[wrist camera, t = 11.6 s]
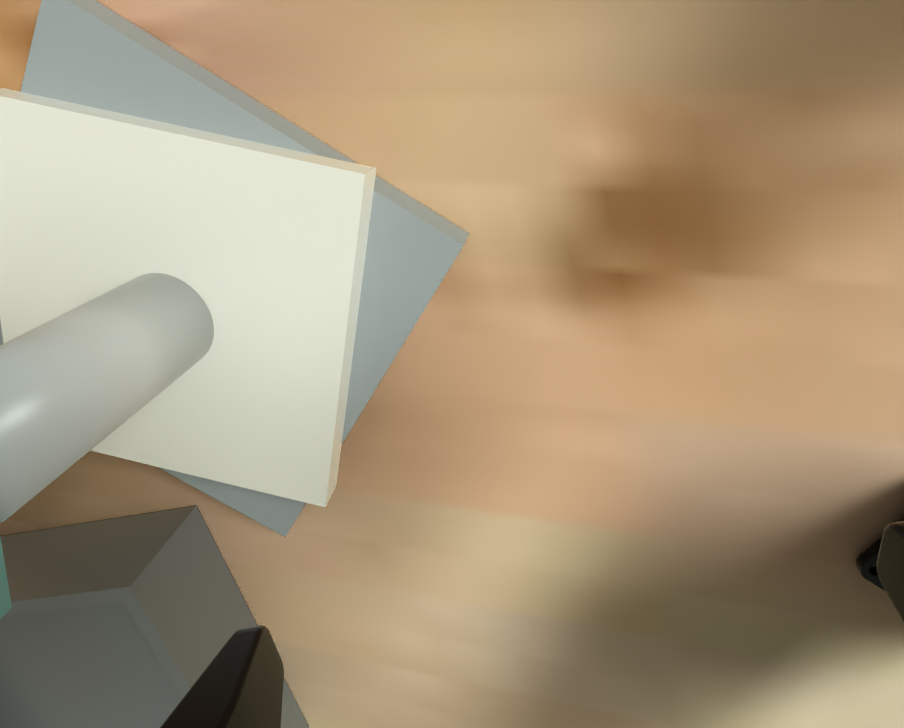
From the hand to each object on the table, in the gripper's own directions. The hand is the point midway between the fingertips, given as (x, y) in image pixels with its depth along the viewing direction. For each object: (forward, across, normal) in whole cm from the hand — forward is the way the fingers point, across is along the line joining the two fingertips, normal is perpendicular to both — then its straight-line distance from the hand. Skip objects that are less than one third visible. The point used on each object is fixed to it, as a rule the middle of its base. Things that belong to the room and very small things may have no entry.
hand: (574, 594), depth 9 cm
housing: (+15, +18, +15) cm, 28 cm away
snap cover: (+13, +9, -1) cm, 16 cm away
